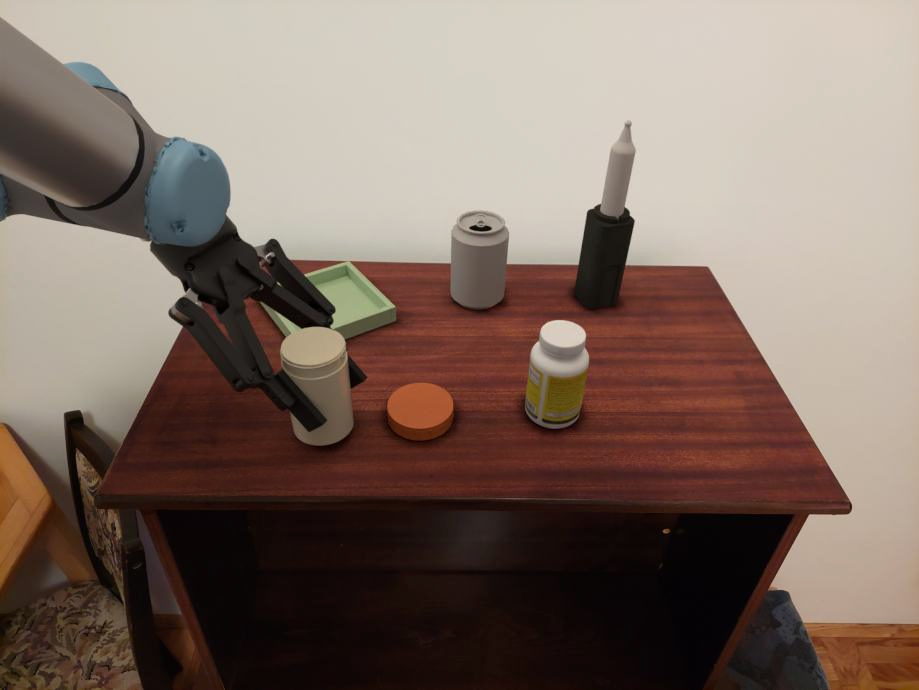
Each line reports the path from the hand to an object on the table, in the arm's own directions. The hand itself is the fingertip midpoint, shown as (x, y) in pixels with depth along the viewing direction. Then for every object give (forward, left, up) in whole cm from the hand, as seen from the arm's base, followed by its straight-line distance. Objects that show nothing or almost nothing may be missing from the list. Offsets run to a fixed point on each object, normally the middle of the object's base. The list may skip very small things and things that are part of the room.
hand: (338, 403), depth 65 cm
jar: (-1, +2, -4) cm, 5 cm away
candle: (+41, +5, -5) cm, 42 cm away
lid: (+9, -2, -4) cm, 10 cm away
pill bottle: (+21, -9, -5) cm, 24 cm away
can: (+27, +14, -5) cm, 31 cm away
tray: (+8, +22, -5) cm, 24 cm away
